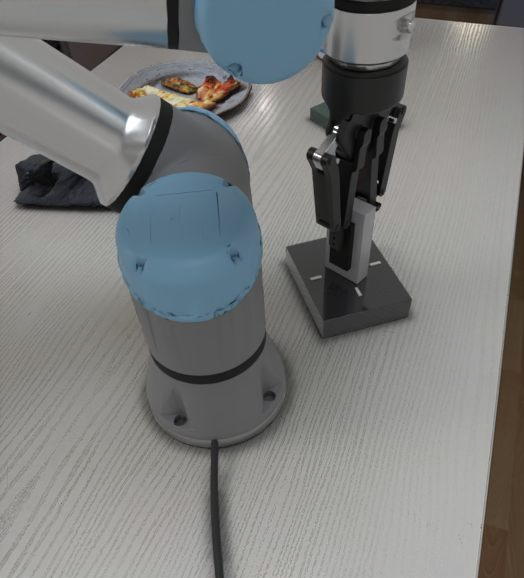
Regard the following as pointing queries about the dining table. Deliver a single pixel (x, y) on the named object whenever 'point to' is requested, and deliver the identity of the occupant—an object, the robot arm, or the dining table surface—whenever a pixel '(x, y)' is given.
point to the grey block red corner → (357, 242)
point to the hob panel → (346, 290)
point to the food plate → (189, 85)
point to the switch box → (320, 114)
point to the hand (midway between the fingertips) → (346, 258)
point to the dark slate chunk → (43, 175)
